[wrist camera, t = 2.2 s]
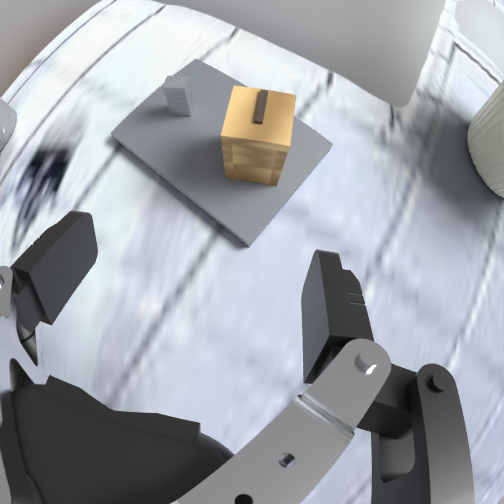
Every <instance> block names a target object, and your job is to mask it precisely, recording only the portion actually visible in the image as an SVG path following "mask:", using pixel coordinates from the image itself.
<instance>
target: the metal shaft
mask: <svg viewBox="0 0 504 504" xmlns="http://www.w3.org/2000/svg"><path fill="white" fill-rule="evenodd" d="M162 88H163V91H164V94H165V96H166V99H167V102H168V105H169V108H170V111H171V114H172V115H175V116H189V117H191V115H192V112H193V109H194V106H195V104H194V100H193V95H192V90H191V85H190V80H189V76H167V78H166V80H165V83H164V85H163V87H162Z"/></svg>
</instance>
